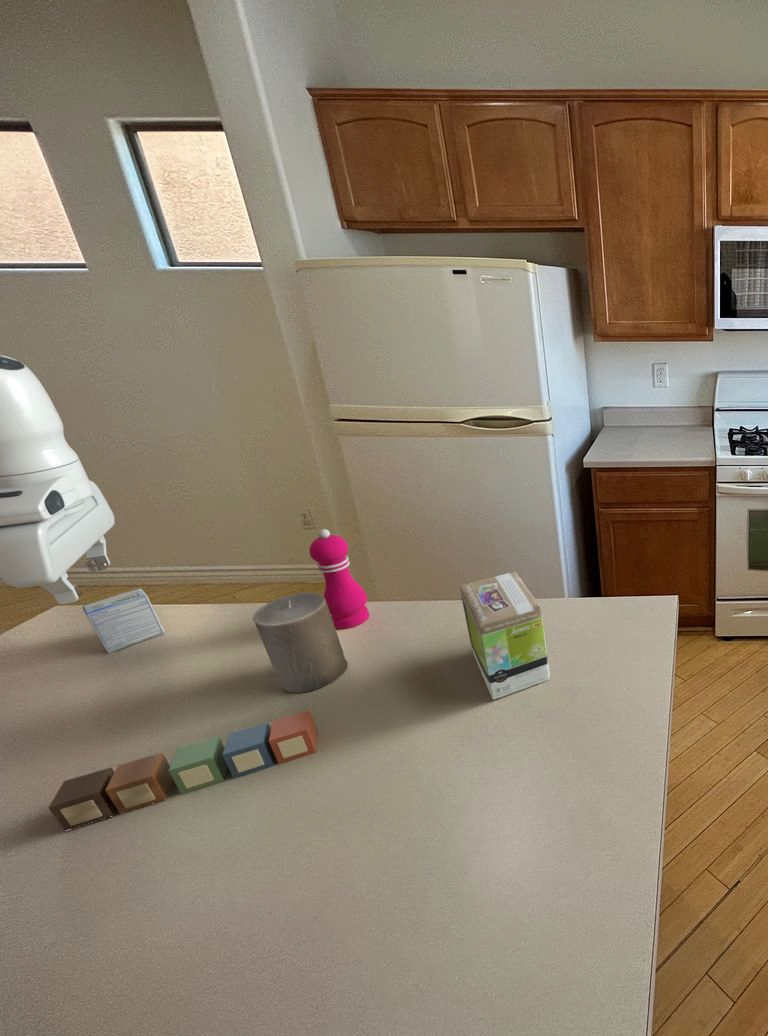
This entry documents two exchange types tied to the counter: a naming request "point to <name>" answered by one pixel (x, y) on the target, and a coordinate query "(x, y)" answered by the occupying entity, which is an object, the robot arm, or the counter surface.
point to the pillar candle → (301, 641)
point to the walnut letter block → (83, 800)
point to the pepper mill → (339, 581)
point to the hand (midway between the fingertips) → (86, 584)
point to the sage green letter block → (198, 765)
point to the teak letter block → (140, 783)
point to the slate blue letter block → (249, 750)
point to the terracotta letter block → (293, 736)
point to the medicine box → (123, 619)
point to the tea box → (505, 633)
